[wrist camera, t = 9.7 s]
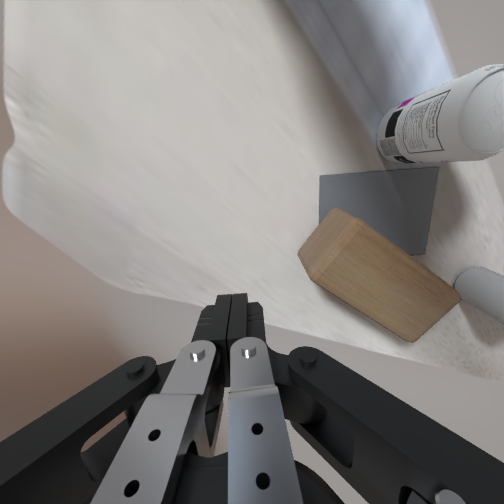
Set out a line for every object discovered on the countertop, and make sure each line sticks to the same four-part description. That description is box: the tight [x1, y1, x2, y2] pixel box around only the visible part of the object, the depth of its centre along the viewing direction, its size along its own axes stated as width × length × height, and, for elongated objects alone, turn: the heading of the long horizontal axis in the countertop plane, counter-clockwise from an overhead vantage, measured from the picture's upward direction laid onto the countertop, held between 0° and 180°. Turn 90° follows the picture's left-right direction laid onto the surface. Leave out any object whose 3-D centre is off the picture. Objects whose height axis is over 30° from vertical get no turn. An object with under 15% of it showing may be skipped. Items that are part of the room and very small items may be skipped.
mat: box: [319, 167, 439, 255], centre depth 40 cm, size 14×18×1 cm
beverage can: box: [454, 267, 504, 324], centre depth 38 cm, size 6×6×12 cm
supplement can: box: [376, 64, 504, 164], centre depth 29 cm, size 8×8×15 cm
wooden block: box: [298, 207, 461, 343], centre depth 38 cm, size 10×10×20 cm
